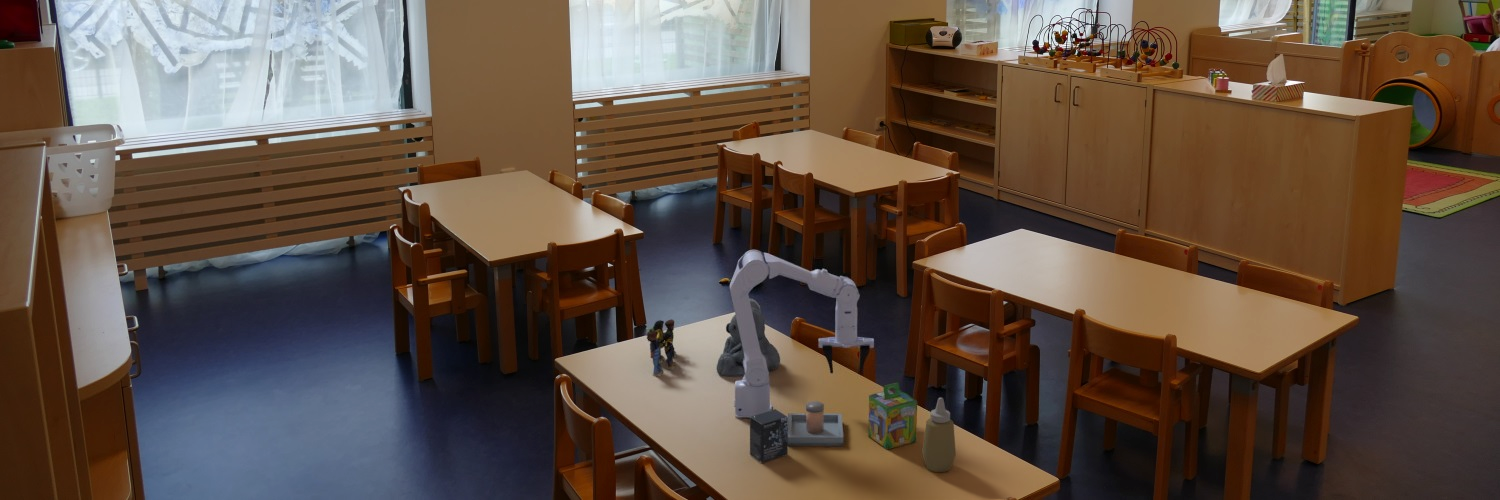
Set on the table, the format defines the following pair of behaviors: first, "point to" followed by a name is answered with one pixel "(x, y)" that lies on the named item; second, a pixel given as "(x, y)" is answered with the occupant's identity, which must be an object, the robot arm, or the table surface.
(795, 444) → the tray
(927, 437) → the squeeze bottle
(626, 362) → the table surface
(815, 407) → the shaker
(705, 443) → the table surface
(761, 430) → the box
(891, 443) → the chalk box
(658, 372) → the doll family
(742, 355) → the koala plush
